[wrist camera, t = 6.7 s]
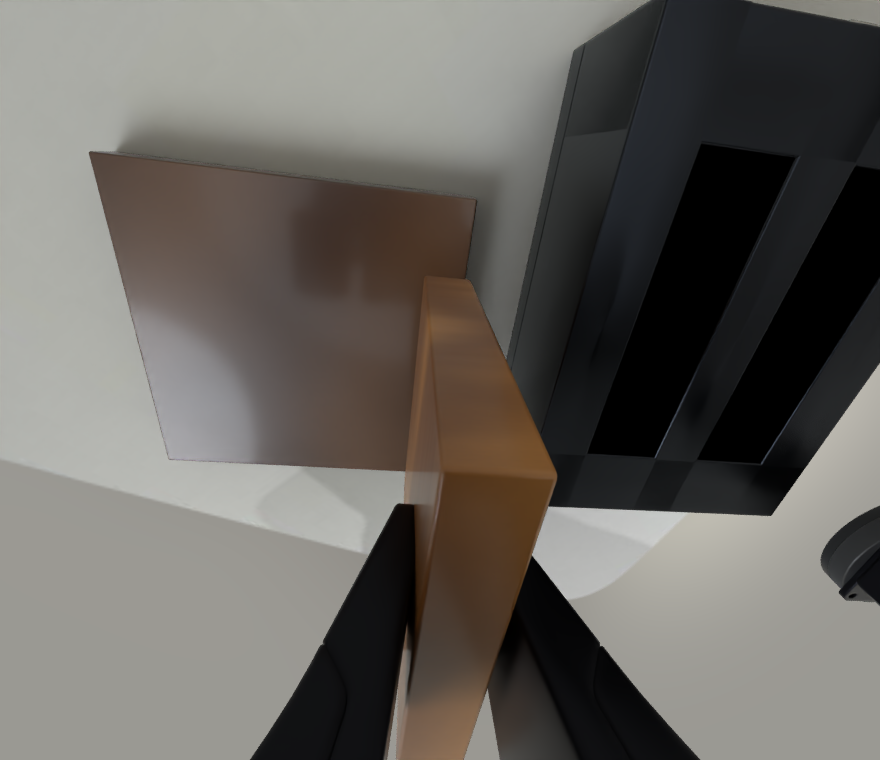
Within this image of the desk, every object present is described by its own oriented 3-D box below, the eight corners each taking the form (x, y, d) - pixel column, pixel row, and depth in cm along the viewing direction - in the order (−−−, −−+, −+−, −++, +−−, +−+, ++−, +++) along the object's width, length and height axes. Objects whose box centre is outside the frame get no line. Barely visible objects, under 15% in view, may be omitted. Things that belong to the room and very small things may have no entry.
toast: (471, 279, 12) (561, 475, 5) (440, 481, 16) (463, 767, 8) (424, 274, 12) (440, 470, 4) (404, 479, 16) (395, 769, 8)
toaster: (873, 60, 13) (1135, 5, 8) (687, 431, 20) (771, 516, 16) (582, 7, 12) (692, -89, 7) (493, 419, 19) (519, 505, 14)
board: (472, 196, 15) (477, 199, 13) (435, 457, 20) (436, 473, 19) (113, 151, 13) (87, 150, 12) (181, 443, 19) (168, 459, 18)
